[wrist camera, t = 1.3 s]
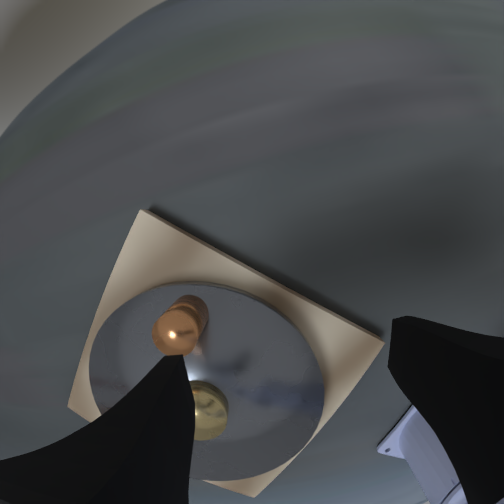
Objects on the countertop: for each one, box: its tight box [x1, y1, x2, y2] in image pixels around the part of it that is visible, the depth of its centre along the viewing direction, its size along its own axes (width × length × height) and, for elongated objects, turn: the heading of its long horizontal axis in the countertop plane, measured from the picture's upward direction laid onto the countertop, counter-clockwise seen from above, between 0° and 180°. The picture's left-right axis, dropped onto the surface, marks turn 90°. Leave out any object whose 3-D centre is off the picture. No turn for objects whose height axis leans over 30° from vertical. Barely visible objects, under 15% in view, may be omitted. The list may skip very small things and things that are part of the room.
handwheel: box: [89, 281, 324, 481], centre depth 16 cm, size 15×15×5 cm
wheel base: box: [67, 209, 385, 497], centre depth 19 cm, size 17×17×1 cm
